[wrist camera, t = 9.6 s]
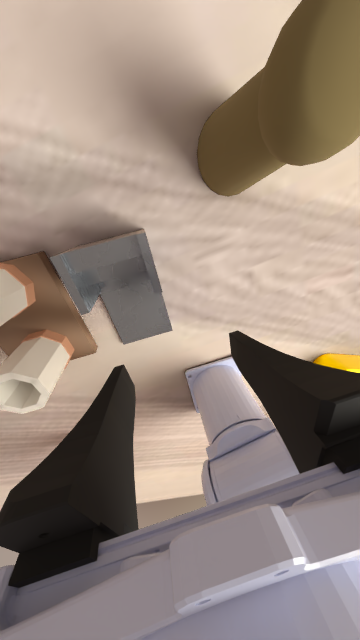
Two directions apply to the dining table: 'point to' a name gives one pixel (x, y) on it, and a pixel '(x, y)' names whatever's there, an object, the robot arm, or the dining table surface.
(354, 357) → the element tile
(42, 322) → the pin board
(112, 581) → the robot arm
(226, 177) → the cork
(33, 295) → the sleeve
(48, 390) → the sleeve
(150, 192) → the dining table surface
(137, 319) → the grey metal bracket
